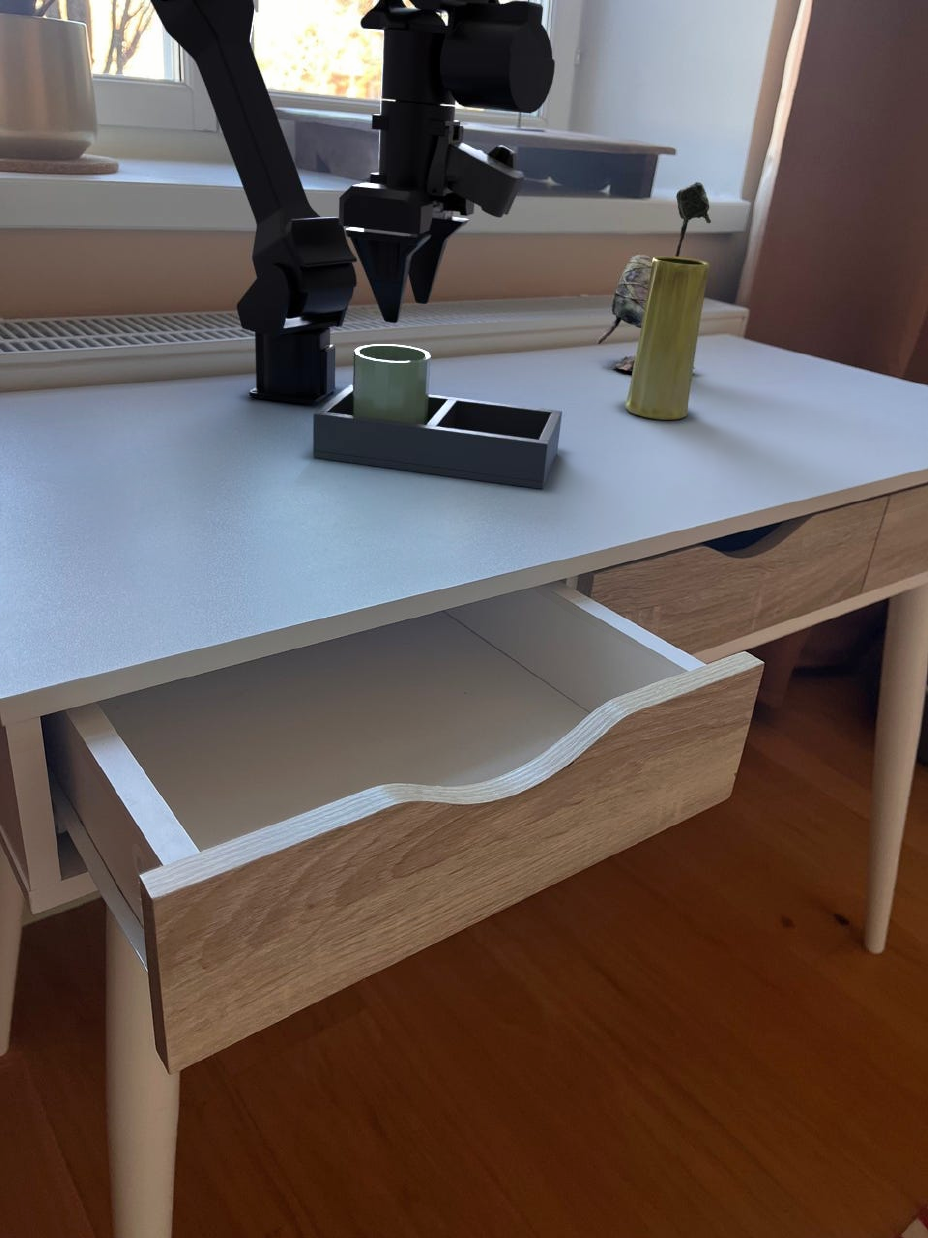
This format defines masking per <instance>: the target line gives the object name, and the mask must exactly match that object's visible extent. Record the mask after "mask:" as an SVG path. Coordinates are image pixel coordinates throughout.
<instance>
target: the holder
mask: <svg viewBox="0 0 928 1238" xmlns="http://www.w3.org/2000/svg"><path fill="white" fill-rule="evenodd" d="M312 415H313V418H312V419H313V422H312V423H313V426H312V427H313V428H312V432H313V433H312V434H313V436H312V438H313V439H312V441H313V442H312V443H313V444H312V448H313V449H312V450H313V451H312V452H313V453H312V455H313V458H315V459H321V460H328V461H335V462H343V463H351V464H357V465H366V466H370V467H371V466H373V467H378V468H379V467H380V468H385V469H387V468H388V469H394V470H402V471H409V472H415V473H423V474H429V475H438V476H445V477H452V478H457V479H466V480H474V481H479V482H480V481H481V482H488V483H495V484H496V483H497V484H501V485H509V486H510V485H511V486H517V487H524V488H531V489H539V490H542V489H544V486H545V484H546V482H547V479H548V476H549V474H550V471H551V469H552V466H553V465H554V461H555V459H556V456H557V454H558V451H559V442H560V432H561V424H562V416H563V411H562V410H555V409H547V408H539V407H531V406H522V405H517V404H516V405H515V404H508V403H500V402H494V401H493V402H491V401H484V400H476V399H467V398H461V397H451V396H444V395H436V394H429V398H428V416H427V425H421V424H413V423H406V422H398V421H390V420H383V419H375V418H367V417H360V416H353V384H348V386H346V387H345V388H344V389H343V390H342V391H340V392H339V393H338V394H336V395H335V396H334V397H333V398H331V399H330V400H328V402H326V403H325V404H323V405H322V406H321V407H319V409H317V410H316V411H314V412H313V414H312Z"/></svg>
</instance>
